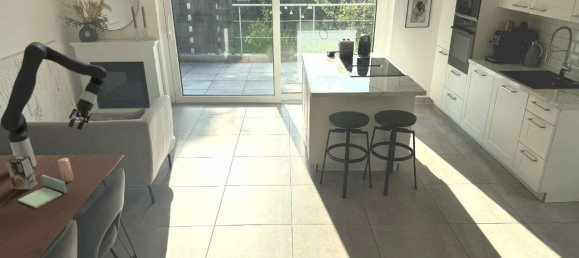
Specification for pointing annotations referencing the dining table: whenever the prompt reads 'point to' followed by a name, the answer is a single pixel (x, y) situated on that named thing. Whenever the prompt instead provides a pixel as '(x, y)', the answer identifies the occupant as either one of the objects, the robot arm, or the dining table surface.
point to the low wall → (54, 183)
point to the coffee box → (21, 172)
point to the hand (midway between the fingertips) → (74, 128)
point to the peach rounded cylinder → (65, 169)
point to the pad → (39, 197)
